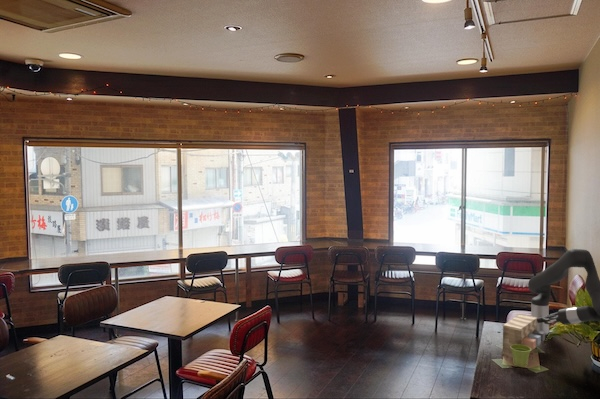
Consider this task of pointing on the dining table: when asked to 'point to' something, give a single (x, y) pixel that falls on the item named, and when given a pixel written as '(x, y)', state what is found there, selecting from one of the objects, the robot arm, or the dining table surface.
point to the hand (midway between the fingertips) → (537, 320)
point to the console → (517, 332)
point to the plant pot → (520, 354)
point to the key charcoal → (539, 334)
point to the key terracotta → (529, 342)
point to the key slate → (537, 337)
